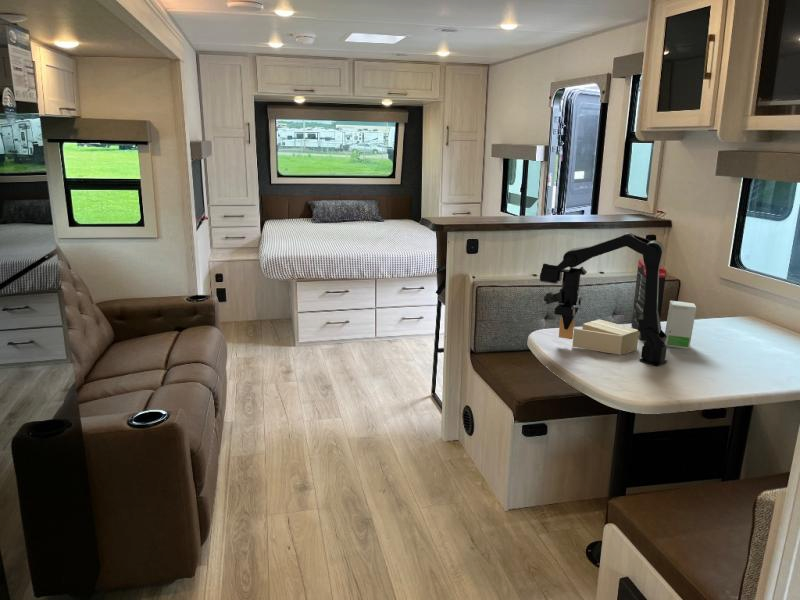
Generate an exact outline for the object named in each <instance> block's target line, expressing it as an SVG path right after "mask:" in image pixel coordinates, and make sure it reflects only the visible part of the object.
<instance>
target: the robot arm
mask: <svg viewBox="0 0 800 600" xmlns="http://www.w3.org/2000/svg"><path fill="white" fill-rule="evenodd" d="M625 247H627V248H629V249H631V250H633V251H634V252H636V253H638V254H640V255H642V258H643V259H642V260H644V265H645V268H646V292H645V314H644V315H641V316H640V318H639V330H638V332H639V331H640V335H641V337H642V338H643V339H644V340H643V341H644V342H643V345H642V348H641V354H640V357H641V358H639V362H642V363H646V364H650V365H652V366H655V367H659V366H662V365H664V364H666V363H668V360H666V356H667V347H668V346H667V345H665V341H666V339H667V336H666V334H665V331H663V329H662V324H661V323H662V322H661V319H660V318H659V314H658V290H659V269H660V266H661V264H662V261H663V257H664V252H665V247H664V243H662V242H661V241H659V240H649V239H647V238H645V237H641V236H638V235H637V234H634V233H632V232H626V233H624V234H621V235H619V236H616V237H614V238H613V237H612V238H611V239H608V240H605V241H602V242H598V243H597V244H594V245H590V246H589V245H588V246H581V247H576V248H571V249H569V250H568V251H566V252H565V253H564V254H563V257H562V261H561V262H559V263H558V264H555V263H550V262H544V263H542V267H541V270H540V273H539V281H540V282H541V283H548V284H555V285H557V284H558V283H559V282H561V281H562V282H561V283H562V284H561V287H560V289H559V290H554V291H551V292H546V293H545V294H544V295H543V301H544V302H545V305H550V304H553V303H558V305H556V306H555V307H554V311H553V314H554V315H558V316H561V318H563V324H564V329H568V328H569V326H570V324H571V322H572V320H573V319H574V320H575V317H576V315H577V313H578V312H579V309H580V308H579V307H578V306H582V304H583V298H582V297H581V295H579V293H580V291H581V287H580V283H581V276H585V275H586V274H587V270H586V269H585V268H584V266H581V267H578V266H580V265H581V264H583V263H585V262H587V261H589V260H590V259H592V258H595V257H598V256H601V255H603V254H607V253H610V252H613V251H616V250H619V249H622V248H625ZM577 267H578V268H577ZM566 268H569V269H566ZM577 305H578V306H577ZM576 306H577V307H576Z"/></svg>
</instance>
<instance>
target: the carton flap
mask: <svg viewBox="0 0 800 600" xmlns="http://www.w3.org/2000/svg"><path fill="white" fill-rule="evenodd" d="M622 337H623V336H621V335H614V334H608V333H601V332H595V331H588V330H582V328H575V318H574V319H573V320H572V322H571V324H570V326H569V328H568V329H564V324H563V318H562V317H560V318H559V328H558V338H562V339H569V340H572V346H571V347H572V348H578V349H583V350H589V351H590V350H592V351H598V352H602V353H609V354H613V355H614V354H615V355H619V356H621V355H620V353H621V345H622Z"/></svg>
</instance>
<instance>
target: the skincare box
mask: <svg viewBox="0 0 800 600" xmlns="http://www.w3.org/2000/svg"><path fill="white" fill-rule="evenodd" d="M696 312H697V306H696V304H695V303H694V302H693V303H692V302H687V301H678V300H669V307H668V312H667V319H666V325H665V330H664V333H665V334H666V336H667V339H666V341H665V345H667V347H671V348H678V349H685V350H689V349H690V346H691V341H692V337H693V336H692V334H693V330H694V324H695V323H694V322H695V319H696Z"/></svg>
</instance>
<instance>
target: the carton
mask: <svg viewBox="0 0 800 600" xmlns="http://www.w3.org/2000/svg"><path fill="white" fill-rule="evenodd" d="M581 329H582V330H588V331H595V332H601V333H608V334H614V335H621V336H623V337H622V345H621V353H620V355H619V356H622V355H624V354H628V353H631V352H633V351H635V350H638V345H639V344H638V343H639V332H638V330H637V329H633V328H632V327H629V326H625V325H621V324H618V323H614V322H611V321H607V320H603V319H595V320H591V321H588V322H585V323H582V328H581Z"/></svg>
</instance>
